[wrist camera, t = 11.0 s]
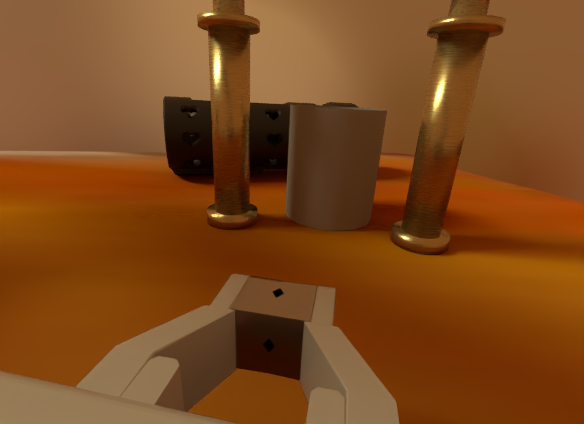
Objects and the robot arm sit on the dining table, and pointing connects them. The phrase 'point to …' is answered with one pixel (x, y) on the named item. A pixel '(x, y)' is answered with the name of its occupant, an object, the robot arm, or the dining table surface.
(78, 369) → the dining table surface
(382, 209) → the dining table surface
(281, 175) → the dining table surface
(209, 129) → the muzzle brake
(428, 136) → the candlestick outer
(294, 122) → the cup
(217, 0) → the candlestick inner
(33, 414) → the robot arm
